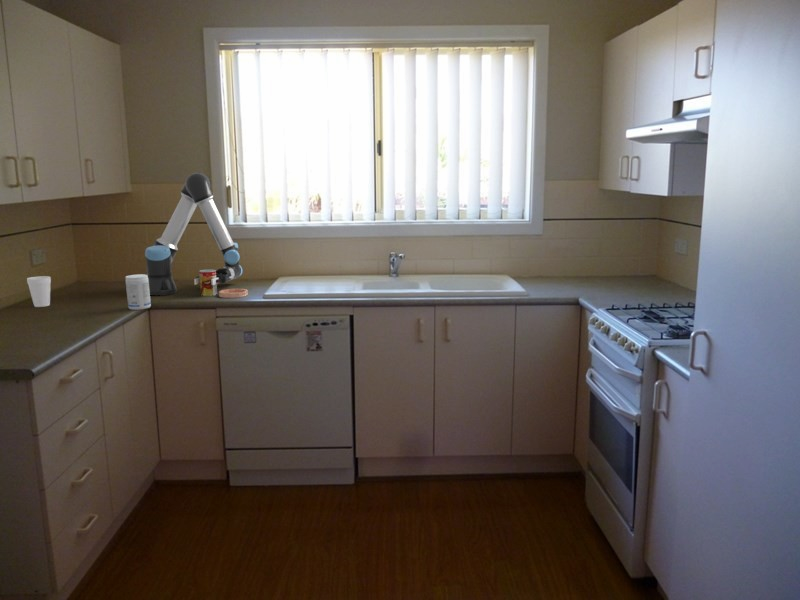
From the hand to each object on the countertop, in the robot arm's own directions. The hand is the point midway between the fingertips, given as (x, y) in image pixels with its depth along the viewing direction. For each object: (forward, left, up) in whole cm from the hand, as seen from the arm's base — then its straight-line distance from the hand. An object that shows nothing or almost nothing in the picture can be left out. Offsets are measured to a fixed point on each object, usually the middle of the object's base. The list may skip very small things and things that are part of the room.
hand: (203, 282), depth 319 cm
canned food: (0, +5, -7) cm, 9 cm away
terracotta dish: (+13, +5, -7) cm, 15 cm away
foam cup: (-65, -31, -7) cm, 73 cm away
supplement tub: (-16, -30, -7) cm, 35 cm away
